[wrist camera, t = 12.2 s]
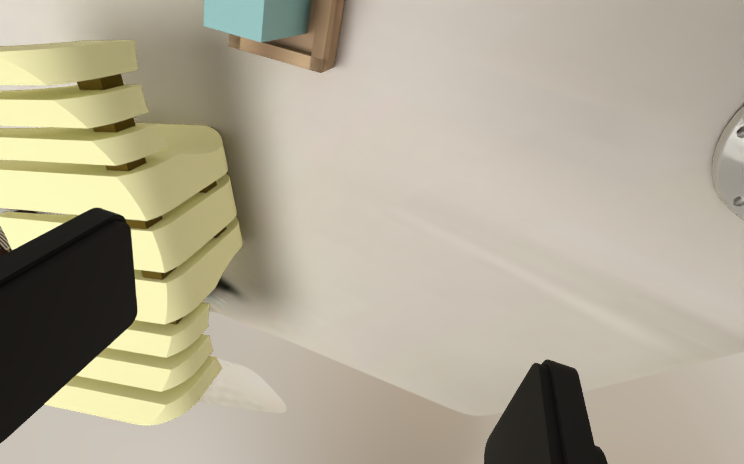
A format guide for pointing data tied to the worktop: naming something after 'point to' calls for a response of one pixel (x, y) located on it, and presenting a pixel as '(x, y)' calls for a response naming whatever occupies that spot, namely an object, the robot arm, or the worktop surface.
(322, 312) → the worktop surface
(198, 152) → the slatted curved stool
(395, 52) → the worktop surface
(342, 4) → the divided wooden tray
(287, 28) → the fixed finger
